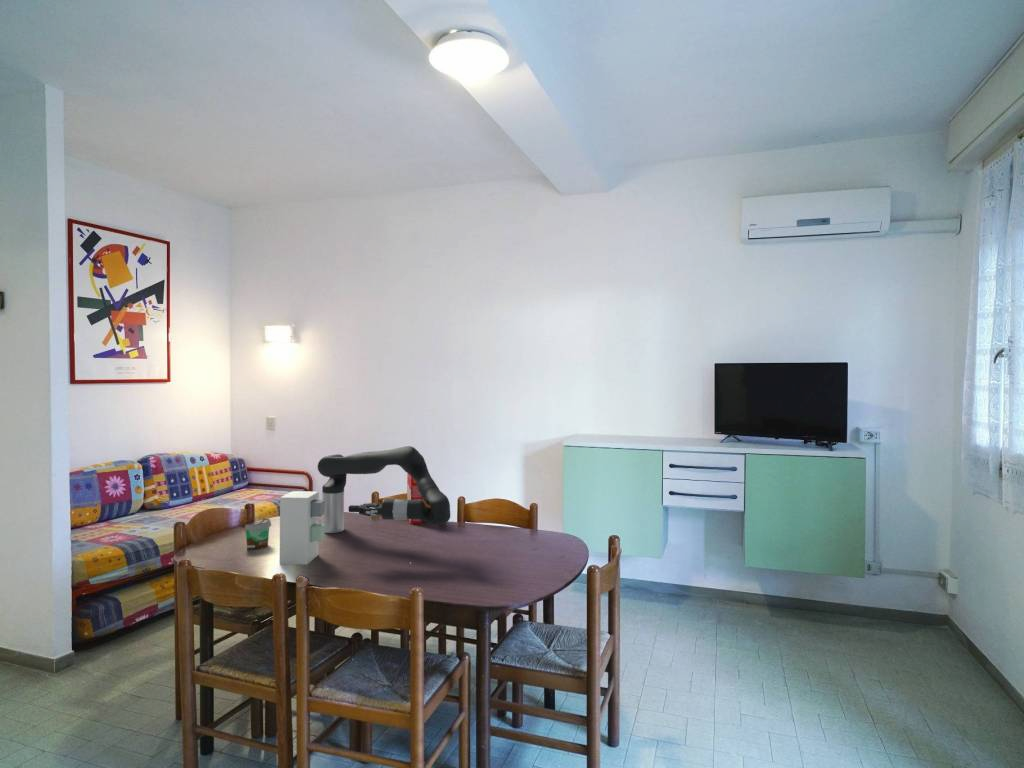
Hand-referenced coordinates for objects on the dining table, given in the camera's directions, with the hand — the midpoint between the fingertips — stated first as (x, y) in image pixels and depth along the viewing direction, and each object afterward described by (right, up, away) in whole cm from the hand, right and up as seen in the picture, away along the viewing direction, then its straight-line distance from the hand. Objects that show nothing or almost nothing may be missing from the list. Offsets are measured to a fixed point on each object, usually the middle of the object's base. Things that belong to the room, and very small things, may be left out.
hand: (349, 508), depth 224 cm
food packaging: (+14, -19, +64) cm, 69 cm away
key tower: (-19, -19, 0) cm, 26 cm away
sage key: (-13, -11, 0) cm, 17 cm away
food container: (-39, -19, +16) cm, 46 cm away
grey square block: (-13, -2, 0) cm, 13 cm away
